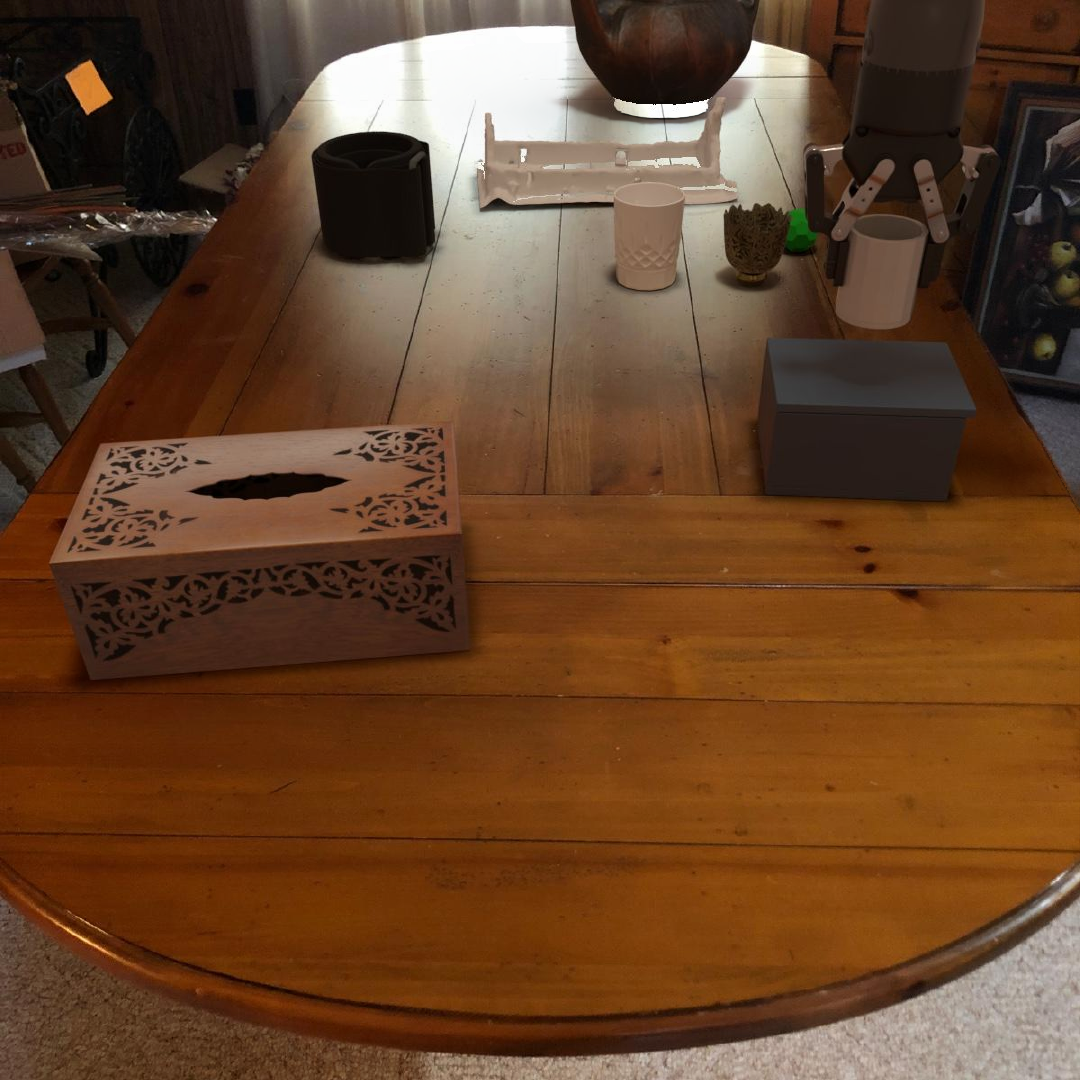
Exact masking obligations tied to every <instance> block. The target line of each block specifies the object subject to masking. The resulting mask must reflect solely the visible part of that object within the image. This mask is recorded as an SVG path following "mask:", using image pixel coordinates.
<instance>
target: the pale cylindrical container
mask: <svg viewBox="0 0 1080 1080" xmlns="http://www.w3.org/2000/svg"><path fill="white" fill-rule="evenodd" d="M928 233H929V231H928V229H927V226H926V224H924V223H922V222H920V221H919V220H917V219H913V218H911V217H907V216H903V215H897V214H889V213H872V214H864V215H863V216H862V217H860V218H859V219H858V220H857V222H856V223H855V225H854V226H853V228H852V229H851V231H850V232H849V234H848V235H847V238H848V240H849V248H848V254H847V260H846V267H845V273H844V279H843V285H842V287H837V292H836V299H835V310H834V311H835V314H836V316H837V317H838V318H839V319H840V320H842V322H845V323H846V324H849V325H852V326H855V327H858V328H861V329H867V330H893V329H897V328H901V327H903V326H906V324H908V323H910V321H911V319H912V313H913V312H914V308H915V302H916V297H917V292H918V289H919V288H918V283H919V278H920V273H921V268H922V263H923V258H924V253H925V248H926V243H927V238H928Z"/></svg>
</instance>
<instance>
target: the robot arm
mask: <svg viewBox="0 0 1080 1080" xmlns="http://www.w3.org/2000/svg"><path fill="white" fill-rule="evenodd" d="M985 5H986V0H870V4H869V9H868V12H867V17H866V23H865V30H864V35H863V36H864V37H863V44H862V51H861V57H860V64H859V71H858V77H857V84H856V92H855V97H854V103H853V104H854V105H853V112H852V117H851V118H852V119H851V123H850V128H849V130H848V132H847V134H846V135H845V137H844V138H843V139H842V141H841V143H836V144H829V145H821V146H820V145H819V144H818V143H816V142H809V143H807V144H806V145H805V146H804V147H803V151H802V155H803V156H802V157H803V187H804V189H803V190H804V193H803V194H804V209H805V217H806V220H807V222H808V228H809V230H810V231H811V232H813V233H818V232H819V233H820V234H822V235H825V236H826V244H825V251H824V257H823V270H824V273H825V276H826V277H825V278H826V280H830V283H831V286H832V287H837V288H838V287H842V285H843V279H844V273H845V267H846V260H847V254H848V248H849V240H848V238H847V235H848V234H849V232H850V231H851V229H852V228H853V226H854V225H855V223H856V222H857V220H858V219H859V218H860V217H862V216H864V215H865V213H866V212H867V210H868V209H869V207H870V206H871V204H872V202H873V203H882V204H884V203H888V202H893V201H899V202H901V203H905V204H917V203H919V206H920V209H921V212H922V215H923V219H924V223H925V226H926V227H927V229H928V231H929V233H928V238H927V243H926V248H925V253H924V258H923V263H922V268H921V273H920V278H919V283H918V288H917V289H929V286H930V283H931V282H936V281H937V279H938V277H939V276H940V272H941V268H942V262H943V258H944V253H945V248H946V244H947V242H948V241H949V240H950V239H952V238H953V237H956V236H960V235H962V236H969V235H971V234H973V233H974V232H975V231H976V229H977V226H978V224H979V221H980V218H981V216H982V213H983V210H984V208H985V207H986V203H987V200H988V198H989V196H990V193H991V190H992V187H993V185H994V182H995V180H996V177H997V175H998V173H999V170H1000V167H1001V164H1002V158H1001V157H1000V156H999V154H998V153H997V152H996V151H995V149H994V147H993V146H991V145H990V144H982V145H980V146H979V147H975V146H969V145H964V144H963V142H962V138H961V132H962V131H961V130H962V127H963V123H964V122H963V121H964V116H965V112H966V107H967V103H968V98H969V93H970V88H971V82H972V77H973V74H974V68H975V63H976V58H977V56H978V53H979V52H980V48H981V43H982V39H981V35H982V30H983V25H984V20H985V19H984V18H985ZM841 161H843V163H844V164H845V166H846V167H847V170H848V171H849V173H850V174H851V177H852V178H851V180H850V181H849V183H848V184H847V186H846V188H845V189H844V191H843V192H842V195H841V198H840V200H839V202H838V204H837V205H836V207H835V208H834V210H833V211H832V213H831V212H828V211H826V210H825V179H827V178H829V177H831V176H832V175H833V173H834V171H835V166H836V165H837V164H838V163H839V162H841ZM960 163H962V168H961V171H962V173H963V175H964V177H965V180H964V183H963V186H962V188H961V192H960V194H959V197H958V200H957V202H956V205H955V207H954V210H953V212H952V213H948V214H945V213H944V207H943V206H944V205H943V204H942V200H941V195H940V192H939V189H938V186H939V184H941V182H942V181H943V180H944V179H945V178H946V177H947V176H948V175H949V174H950V173H951V172H952V171H953V170H954V169H955V168H956V166H958V164H960ZM819 233H818V234H819Z"/></svg>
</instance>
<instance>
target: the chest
mask: <svg viewBox="0 0 1080 1080" xmlns="http://www.w3.org/2000/svg"><path fill="white" fill-rule="evenodd" d="M763 359H764V360H763V367H762V376H761V386H760V394H759V402H758V411H757V418H756V419H757V421H756V428H757V434H758V443H759V444H758V445H759V452H760V459H761V468H762V476H763V483H764V485H763V486H764V493H765V495H767V496H791V497H813V498H814V497H816V498H817V497H818V498H842V499H843V498H846V499H866V500H867V499H868V500H893V501H895V500H897V501H919V502H920V501H922V502H946V503H947V500H948V497H949V492H950V488H951V484H952V480H953V476H954V472H955V468H956V467H955V466H956V463H957V460H958V456H959V451H960V448H961V443H962V439H963V436H964V430H965V427H966V423H967V418H956V417H925V416H894V415H863V414H832V413H801V412H777V411H776V407H775V400H774V394H773V387H772V381H771V374H770V368H769V361H768V355H767V348H766V347H765V349H764V358H763Z"/></svg>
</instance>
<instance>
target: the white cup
mask: <svg viewBox="0 0 1080 1080" xmlns="http://www.w3.org/2000/svg"><path fill="white" fill-rule="evenodd" d="M684 203H685V192H684V191H683V190H682V189H680V188H678V187H676V186H673V185H670V184H665V183H657V182H640V183H632V184H628V185H624V186H622V187H619V188H618V189H616V190H615V192H614V202H613V226H614V227H613V229H614V231H613V232H614V255H615V259H616V261H615V269H616V270H615V271H616V272H615V273H616V274H615V276H616V280H617V281H618V284H620V285H621V286H623V287H624V288H628V289H633V290H637V291H656V290H662V289H663V290H664V289H665V288H668V287H670V286H672V285H673V283H674V282H675V280H676V277H677V266H678V259H679V254H680V246H681V240H682V232H683V231H682V230H683V221H684V214H685V213H684V212H685V211H684V210H685V204H684Z"/></svg>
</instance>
